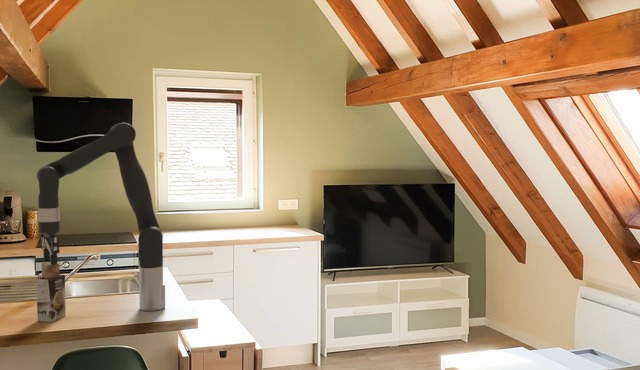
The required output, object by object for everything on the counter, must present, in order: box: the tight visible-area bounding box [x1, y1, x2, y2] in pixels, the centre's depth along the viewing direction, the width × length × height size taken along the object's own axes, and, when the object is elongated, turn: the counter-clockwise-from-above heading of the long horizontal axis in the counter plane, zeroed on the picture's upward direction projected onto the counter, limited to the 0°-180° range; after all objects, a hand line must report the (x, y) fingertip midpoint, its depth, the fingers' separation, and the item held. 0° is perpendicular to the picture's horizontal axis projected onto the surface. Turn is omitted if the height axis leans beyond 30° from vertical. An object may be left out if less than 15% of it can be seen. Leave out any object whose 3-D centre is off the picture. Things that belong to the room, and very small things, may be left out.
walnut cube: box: [41, 261, 61, 278], centre depth 244 cm, size 5×5×5 cm
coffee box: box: [36, 274, 66, 323], centre depth 245 cm, size 9×6×16 cm
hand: (50, 262), depth 244 cm, fingers open, 8 cm apart
